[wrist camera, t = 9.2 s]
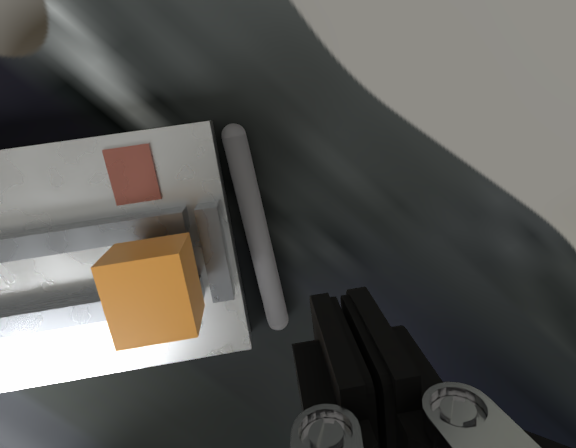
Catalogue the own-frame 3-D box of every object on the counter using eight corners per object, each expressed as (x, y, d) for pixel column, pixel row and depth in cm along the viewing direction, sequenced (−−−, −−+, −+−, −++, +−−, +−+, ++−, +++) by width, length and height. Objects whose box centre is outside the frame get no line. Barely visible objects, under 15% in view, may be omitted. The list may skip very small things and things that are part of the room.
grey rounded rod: (289, 320, 27) (291, 331, 25) (269, 325, 26) (270, 336, 25) (243, 120, 23) (243, 121, 21) (219, 125, 23) (217, 126, 21)
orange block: (210, 282, 23) (198, 337, 17) (147, 292, 23) (115, 351, 17) (196, 217, 22) (178, 253, 16) (131, 227, 22) (90, 267, 16)
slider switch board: (251, 332, 26) (251, 363, 23) (-72, 387, 25) (-120, 429, 22) (212, 120, 22) (206, 121, 19) (-173, 173, 21) (-252, 185, 18)
